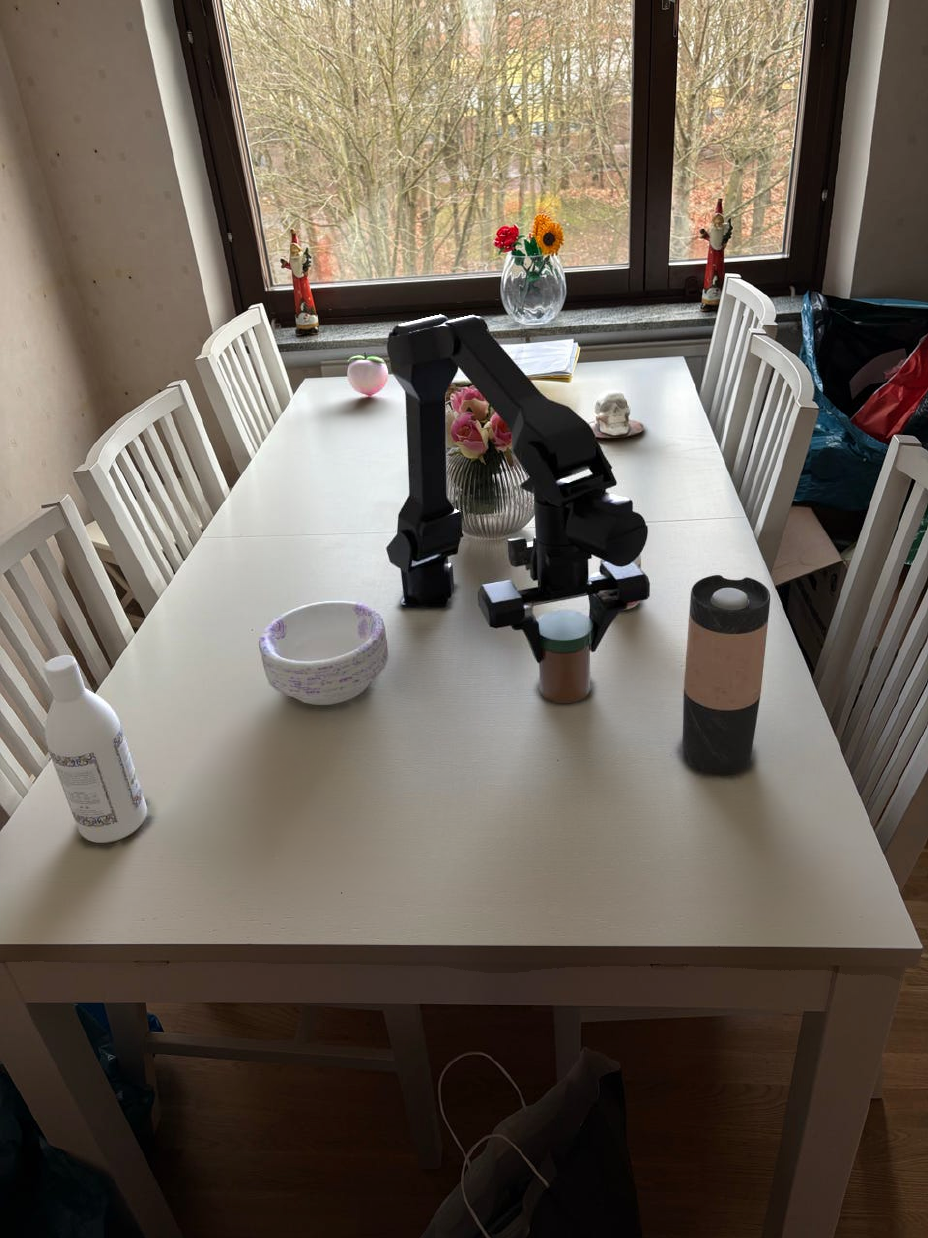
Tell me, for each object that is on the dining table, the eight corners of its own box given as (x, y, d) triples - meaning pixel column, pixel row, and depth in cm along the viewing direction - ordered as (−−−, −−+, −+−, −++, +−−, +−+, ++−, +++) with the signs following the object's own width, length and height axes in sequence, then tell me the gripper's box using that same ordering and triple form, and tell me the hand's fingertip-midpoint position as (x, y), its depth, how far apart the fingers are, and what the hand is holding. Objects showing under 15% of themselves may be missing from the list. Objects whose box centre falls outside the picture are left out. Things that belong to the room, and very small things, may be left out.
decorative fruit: (345, 402, 213) (338, 358, 208) (354, 391, 220) (349, 347, 215) (385, 402, 212) (380, 357, 206) (394, 390, 218) (389, 347, 213)
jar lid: (587, 656, 107) (587, 643, 106) (528, 649, 109) (527, 637, 108) (598, 624, 113) (598, 612, 112) (542, 618, 115) (542, 607, 114)
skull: (654, 433, 181) (619, 397, 177) (613, 470, 185) (578, 435, 181) (643, 410, 191) (609, 376, 187) (605, 445, 195) (570, 412, 191)
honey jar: (547, 707, 112) (545, 646, 107) (534, 678, 117) (532, 620, 112) (596, 698, 112) (596, 638, 108) (581, 670, 118) (581, 612, 113)
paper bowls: (257, 670, 123) (245, 617, 118) (369, 639, 127) (362, 587, 123) (286, 735, 110) (274, 679, 106) (409, 698, 115) (402, 643, 111)
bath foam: (124, 790, 104) (73, 635, 94) (161, 816, 100) (112, 657, 90) (67, 826, 100) (6, 668, 89) (103, 855, 96) (43, 693, 85)
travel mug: (711, 787, 98) (726, 620, 88) (665, 747, 104) (673, 587, 94) (768, 761, 101) (789, 597, 91) (720, 724, 107) (734, 566, 96)
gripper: (615, 494, 112) (615, 609, 120) (461, 520, 109) (471, 637, 117) (653, 531, 103) (650, 653, 111) (486, 561, 100) (495, 685, 108)
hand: (565, 655), depth 112 cm, fingers closed on jar lid, 6 cm apart
